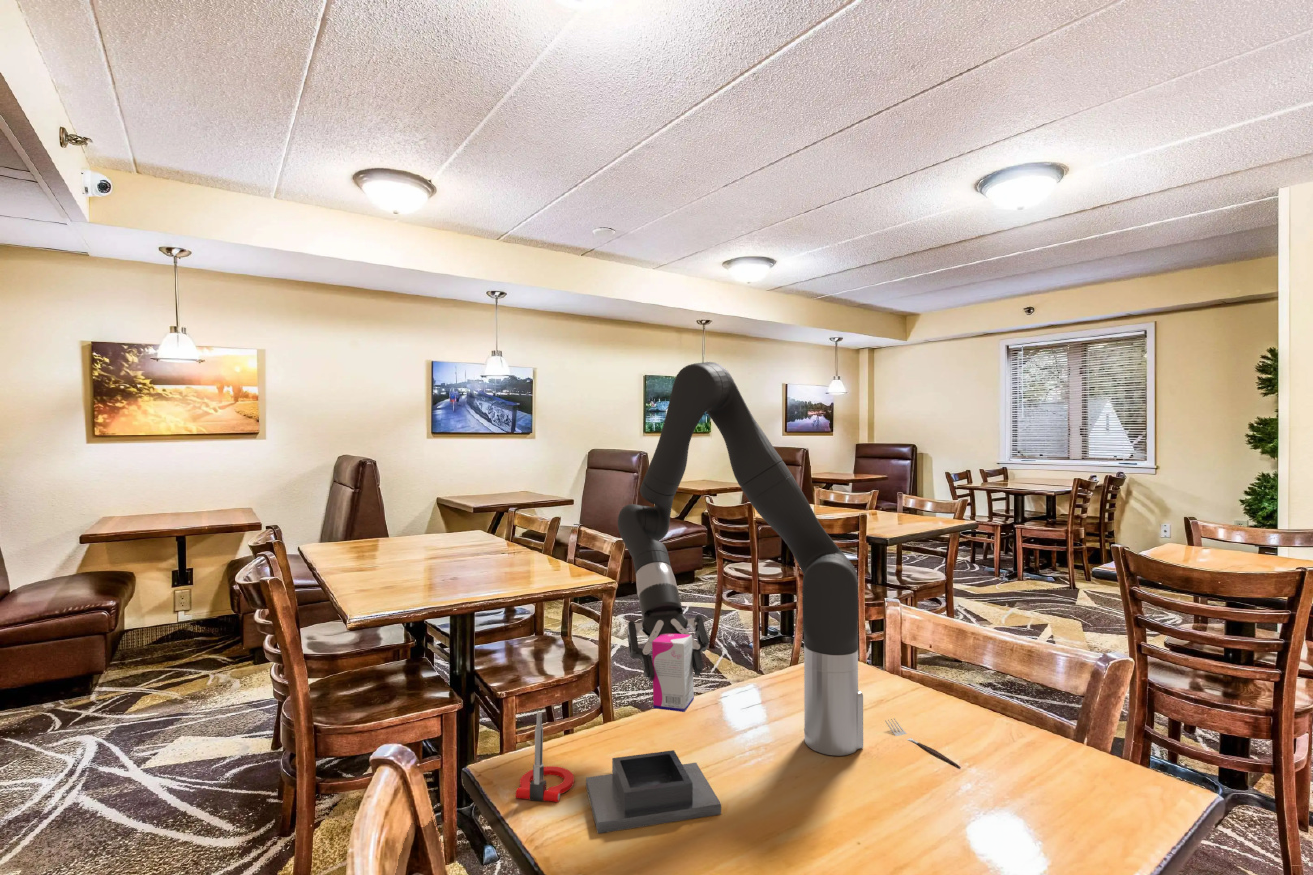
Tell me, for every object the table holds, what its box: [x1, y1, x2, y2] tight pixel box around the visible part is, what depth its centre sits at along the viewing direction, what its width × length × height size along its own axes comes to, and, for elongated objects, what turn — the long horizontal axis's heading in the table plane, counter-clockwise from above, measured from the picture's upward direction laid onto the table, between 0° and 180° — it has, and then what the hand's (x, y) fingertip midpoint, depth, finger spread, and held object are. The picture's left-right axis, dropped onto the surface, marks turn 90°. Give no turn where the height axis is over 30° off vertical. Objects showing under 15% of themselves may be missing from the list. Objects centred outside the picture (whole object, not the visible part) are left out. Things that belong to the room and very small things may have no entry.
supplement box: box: [651, 633, 695, 713], centre depth 110 cm, size 6×6×12 cm
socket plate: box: [585, 749, 722, 834], centre depth 96 cm, size 18×12×4 cm, turn 104°
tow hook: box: [515, 711, 575, 803], centre depth 100 cm, size 8×13×9 cm
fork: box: [884, 717, 962, 769], centre depth 112 cm, size 3×16×2 cm, turn 23°
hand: (675, 676), depth 109 cm, fingers closed on supplement box, 8 cm apart
